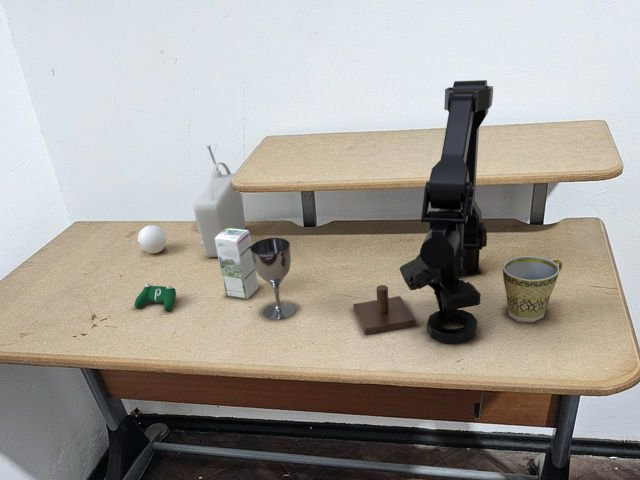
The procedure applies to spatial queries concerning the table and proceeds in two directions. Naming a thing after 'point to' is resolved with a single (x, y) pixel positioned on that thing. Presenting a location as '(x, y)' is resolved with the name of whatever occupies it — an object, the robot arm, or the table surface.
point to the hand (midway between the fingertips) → (445, 317)
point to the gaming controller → (156, 296)
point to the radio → (218, 208)
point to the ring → (452, 334)
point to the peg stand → (383, 313)
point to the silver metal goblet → (273, 272)
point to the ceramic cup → (529, 286)
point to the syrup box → (236, 263)
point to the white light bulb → (152, 239)
